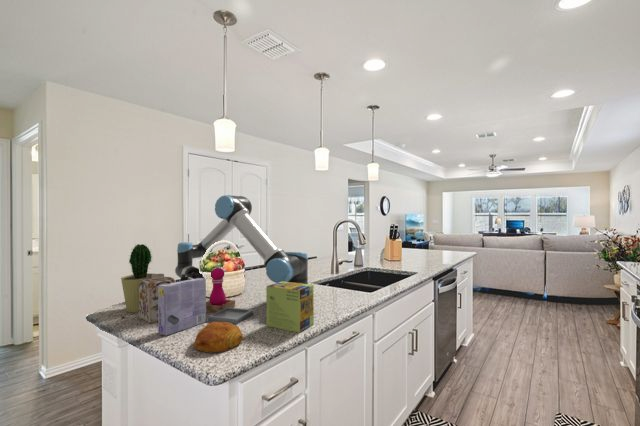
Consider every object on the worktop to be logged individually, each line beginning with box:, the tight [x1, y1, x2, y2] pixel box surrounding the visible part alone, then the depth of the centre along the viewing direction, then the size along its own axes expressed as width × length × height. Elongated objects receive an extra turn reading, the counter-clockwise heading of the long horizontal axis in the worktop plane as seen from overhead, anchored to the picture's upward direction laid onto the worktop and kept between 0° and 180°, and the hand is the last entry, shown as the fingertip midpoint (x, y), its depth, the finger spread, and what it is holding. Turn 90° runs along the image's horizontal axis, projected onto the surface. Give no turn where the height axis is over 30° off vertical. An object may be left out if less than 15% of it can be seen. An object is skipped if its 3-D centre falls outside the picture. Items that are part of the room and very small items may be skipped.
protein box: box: [265, 281, 315, 334], centre depth 127 cm, size 10×15×16 cm
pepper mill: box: [208, 264, 227, 306], centre depth 149 cm, size 7×7×20 cm
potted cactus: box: [120, 243, 154, 313], centre depth 150 cm, size 15×15×30 cm
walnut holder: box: [206, 298, 236, 314], centre depth 149 cm, size 11×11×3 cm
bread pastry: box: [193, 322, 244, 353], centre depth 109 cm, size 14×16×8 cm
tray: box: [207, 307, 254, 325], centre depth 136 cm, size 13×13×2 cm
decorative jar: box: [138, 273, 176, 324], centre depth 138 cm, size 12×12×18 cm
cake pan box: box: [157, 277, 207, 337], centre depth 125 cm, size 19×5×18 cm, turn 149°
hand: (208, 280), depth 156 cm, fingers open, 13 cm apart
